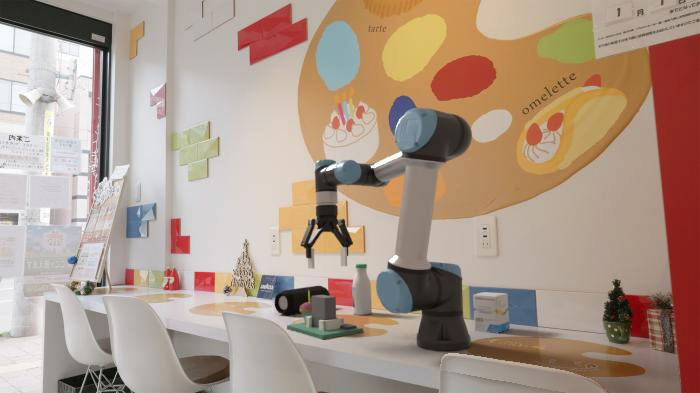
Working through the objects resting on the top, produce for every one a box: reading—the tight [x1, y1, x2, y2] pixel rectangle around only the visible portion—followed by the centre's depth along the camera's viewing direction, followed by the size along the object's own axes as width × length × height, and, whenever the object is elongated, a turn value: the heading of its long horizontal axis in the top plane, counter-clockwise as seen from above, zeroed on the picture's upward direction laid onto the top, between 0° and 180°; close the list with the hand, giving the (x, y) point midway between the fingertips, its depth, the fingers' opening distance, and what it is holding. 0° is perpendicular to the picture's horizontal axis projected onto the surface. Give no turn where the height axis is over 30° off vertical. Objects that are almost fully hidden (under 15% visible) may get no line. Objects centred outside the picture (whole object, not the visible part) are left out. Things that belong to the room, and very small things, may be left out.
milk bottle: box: [351, 263, 373, 316], centre depth 184 cm, size 8×8×20 cm
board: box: [286, 316, 364, 340], centre depth 151 cm, size 22×16×4 cm
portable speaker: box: [274, 285, 331, 316], centre depth 193 cm, size 26×10×10 cm, turn 142°
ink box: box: [472, 291, 511, 334], centre depth 147 cm, size 9×8×12 cm
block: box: [312, 295, 337, 328], centre depth 152 cm, size 9×4×10 cm, turn 37°
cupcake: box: [300, 289, 312, 321], centre depth 170 cm, size 9×8×12 cm
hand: (328, 267), depth 153 cm, fingers open, 13 cm apart
